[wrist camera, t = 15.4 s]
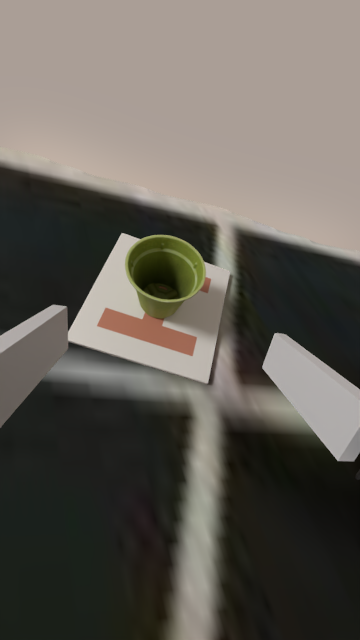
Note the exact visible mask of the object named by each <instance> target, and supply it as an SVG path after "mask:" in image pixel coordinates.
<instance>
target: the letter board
mask: <svg viewBox="0 0 360 640" xmlns="http://www.w3.org/2000/svg"><path fill="white" fill-rule="evenodd" d="M139 240H141V239H138V238H135V237H132V236H129V235H127V234H124V233H122V234H121V236H120V237H119V239H118V241H117V243H116V245H115V247H114V248H113V250H112V252H111V254H110V256H109V258H108V260H107V261H106V263H105V265H104V267H103V269H102V271H101V273H100V274H99V276H98V278H97V280H96V282H95V284H94V286H93V287H92V289H91V291H90V293H89V295H88V297H87V298H86V300H85V302H84V304H83V306H82V308H81V310H80V311H79V313H78V315H77V317H76V319H75V321H74V323H73V324H72V326H71V328H70V330H69V332H68V342H70V343H74V344H77V345H80V346H83V347H87V348H90V349H93V350H96V351H100V352H103V353H106V354H109V355H113V356H116V357H119V358H122V359H126V360H129V361H132V362H135V363H139V364H142V365H145V366H148V367H152V368H155V369H158V370H161V371H165V372H168V373H171V374H174V375H178V376H181V377H184V378H187V379H191V380H194V381H197V382H200V383H204V384H208V381H209V376H210V371H211V366H212V361H213V356H214V351H215V346H216V341H217V335H218V330H219V325H220V320H221V315H222V310H223V305H224V300H225V295H226V290H227V285H228V280H229V275H230V271H228V270H225V269H222V268H220V267H217V266H214V265H211V264H208V263H206V262H204V263H205V267H206V278H205V282H204V284H203V286H202V288H201V289H200V290H199V292H198V293H197V294H195V295H194V296H193V297H191V298H189V299H187V300H185V301H184V302H183V303H182V305H181V306H180V307H179V308H178V310H177V311H176V312H175V313H174V314H173V315H171V316H169V317H166V318H162V319H160V318H154V317H151V316H149V315H148V314H146V313H145V312H144V310H143V309H142V308H141V306H140V303H139V299H138V295H137V292H136V289H135V288H134V287H133V286H132V284H131V283H130V281H129V279H128V277H127V275H126V270H125V258H126V255H127V253H128V251H129V249H130V248H131V247H132V246H133V245H134V244H135V243H136V242H137V241H139ZM159 288H162V289H165V290H167V288H165V287H162V286H160V287H159ZM160 299H161V298H160Z"/></svg>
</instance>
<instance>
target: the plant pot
mask: <svg viewBox="0 0 360 640" xmlns="http://www.w3.org/2000/svg"><path fill="white" fill-rule="evenodd" d="M125 270H126V275H127V277H128V279H129V281H130V283H131V284H132V286H133V287H134V288H135V289H136V292H137V295H138V299H139V303H140V306H141V308H142V309H143V310H144V312H145V313H146V314H148V315H149V316H151V317H154V318H160V319H162V318H166V317H169V316H171V315H173V314H174V313H175V312H176V311H177V310H178V308H179V307H180V306H181V305H182V303H183V302H184V301H185V300H187V299H189V298H191V297H193V296H194V295H195V294H197V293H198V292H199V290H200V289H201V288H202V286H203V284H204V282H205V278H206V267H205V263H204V261H203V259H202V257H201V255H200V254H199V252H198V251H197V250H196V249H195V248H194V247H193V246H191V245H190V244H189V243H187V242H185V241H183V240H181V239H179V238H176V237H173V236H168V235H153V236H149V237H145V238H143V239H141V240H139V241H137V242H136V243H135V244H134V245H133V246H132V247H131V248H130V249H129V251H128V253H127V255H126V258H125ZM160 286H162V287H165V288H167V290H165V289H162V288H159V287H160ZM160 298H161V299H160Z"/></svg>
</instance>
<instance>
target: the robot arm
mask: <svg viewBox="0 0 360 640" xmlns="http://www.w3.org/2000/svg"><path fill="white" fill-rule="evenodd" d="M67 349H68V324H67V307H66V306H58V305H52V306H50V307H48V308H47V309H45V310H43V311H42V312H40V313H38V314H36V315H35V316H33V317H31V318H30V319H28V320H26V321H25V322H23V323H21V324H20V325H18V326H16V327H14V328H13V329H11V330H9V331H8V332H6V333H4V334H3V335H1V336H0V427H1V426H2V425H3V424H4V423H5V421H6V420H7V419H8V418H9V417H10V416H11V414H12V413H13V412H14V411H15V410H16V409H17V407H18V406H19V405H20V404H21V403H22V402H23V400H24V399H25V398H26V397H27V396H28V395H29V393H30V392H31V391H32V390H33V389H34V388H35V387H36V385H37V384H38V383H39V382H40V381H41V380H42V378H43V377H44V376H45V375H46V374H47V373H48V371H49V370H50V369H51V368H52V367H53V366H54V364H55V363H56V362H57V361H58V360H59V359H60V357H61V356H62V355H63V354H64V353H65V352H66V350H67ZM262 368H263V369H264V370H265V372H266V373H267V374H268V375H269V377H270V378H271V379H272V380H273V382H274V383H275V384H276V385H277V386H278V388H279V389H280V390H281V391H282V393H283V394H284V395H285V396H286V398H287V399H288V400H289V401H290V403H291V404H292V405H293V406H294V407H295V409H296V410H297V411H298V412H299V414H300V415H301V416H302V417H303V419H304V420H305V421H306V422H307V423H308V425H309V426H310V427H311V428H312V430H313V431H314V432H315V433H316V435H317V436H318V437H319V438H320V440H321V441H322V442H323V443H324V444H325V446H326V447H327V448H328V449H329V451H330V452H331V453H332V454H333V456H334V457H335V458H336V459H337V460H338V461H354V460H355V459H356V457H357V456H358V454H359V453H360V389H358V388H357V387H356V386H354V385H353V384H352V383H350V382H349V381H348V380H346V379H345V378H344V377H342V376H341V375H339V374H338V373H337V372H335V371H334V370H333V369H331V368H330V367H329V366H327V365H326V364H325V363H323V362H322V361H321V360H319V359H318V358H317V357H315V356H314V355H312V354H311V353H310V352H308V351H307V350H306V349H304V348H303V347H302V346H300V345H299V344H298V343H296V342H295V341H294V340H292V339H291V338H290V337H288V336H287V335H285V334H279V333H275V334H274V337H273V339H272V342H271V345H270V347H269V350H268V353H267V356H266V358H265V361H264V364H263V367H262ZM355 479H357V480H359V479H360V470H359V471H358V472H357V474H356V477H355Z"/></svg>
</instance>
